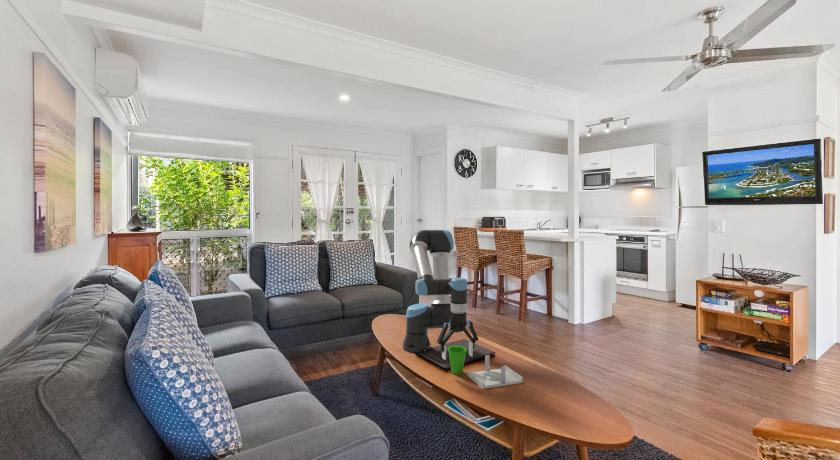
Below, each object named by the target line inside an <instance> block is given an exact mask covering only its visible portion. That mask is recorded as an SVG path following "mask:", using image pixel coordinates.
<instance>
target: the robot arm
mask: <svg viewBox="0 0 840 460" xmlns="http://www.w3.org/2000/svg"><path fill="white" fill-rule="evenodd" d="M454 244H455V243H454V237H453V234H452V233H451V231H449V230H444V229H423V230H419V231H417V232H415V233H414V234H413V236H412V237H411V239H410V241H409V251H410V253H411V254H412V257H413V260H414V266H415V270H416V275H417V279H416V280H415V283H414V284H415V285H414V286H415V287H414V288H415V294H416V295H417V296H433V301H432V302H431V303H430V306H429V304H427V303H415V304H412V305H409V306H408V307H407V309H406V314H405V317H406V319H405V322H406V324H405V326H406V327H405V330H406V331H405V335H404V339H403V342H402V350H405V351H406V352H409V353H422V352H421V351H424V350H428V349H430V350H431V342H430V338H429V335H428V333H429V332H428V331H429V329H441V330H440V331H441V332H440V333H439V336H438V338H437V340H436V343H437V344H439V345H440V352H441V359H443V360H444V361H446V360H447V345H446V344H447V343H448V341H449V340H450V338H451V337H452V335H454V334H455V333H462V332H463V333H464V334H465V335H466V336H467V338H468V339H469V341H468V355H469V356H470V357H472V358H473V357H474V356H473V354H474V349H475V343H476V342H477V341H478V342H479V337H478V334H477V332H476V330H475V328H474V325H473V321H471V320H467V319H468V318H467V314H468V313H467V308H468V302H467V301H468V280H467V279H466V278H465V277H450V276H449V256H450V255H451V252H452V251H453V250H454ZM428 252H429V255H430V256H431V258H432V267H431V263H430V262H431V261H430V259H429V255H428ZM466 327H468V328H469V330H470V333H469V331H468V330H467V328H466ZM428 351H429V350H428Z"/></svg>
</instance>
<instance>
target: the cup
mask: <svg viewBox="0 0 840 460" xmlns="http://www.w3.org/2000/svg"><path fill="white" fill-rule="evenodd" d="M447 351H448V357H449V363H450V372H451V374H454V375H462V374H463V371H464V365H465V360H466V356H467V351H468V349H467V347H465V346H462V345H451V346H448V347H447Z"/></svg>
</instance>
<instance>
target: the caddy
mask: <svg viewBox="0 0 840 460" xmlns="http://www.w3.org/2000/svg"><path fill="white" fill-rule="evenodd" d="M490 358H491V356H490V355H489V354H488V355H487V354H486V355H485V357H484V370H480V371H475V372H474V371H473V372H472V371H471V370H470V369H469V370H467V377H469V379H471V380H472V382H474V383H475V384H476V385H478V386H479V387H480V388H481V389H482V390H484V389H490V388H498V387H504V386H509V385H516V384H522V383H523V381H524V379H523V378H524V377H523V376H522V375H520V374H518V373H517V372H516V371H515V370H513V369H511V368H510V367H508V366H507V365H506V364H505V365H502V366H500V368H497V369H496V368H494V369H490V362H491V360H490Z"/></svg>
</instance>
